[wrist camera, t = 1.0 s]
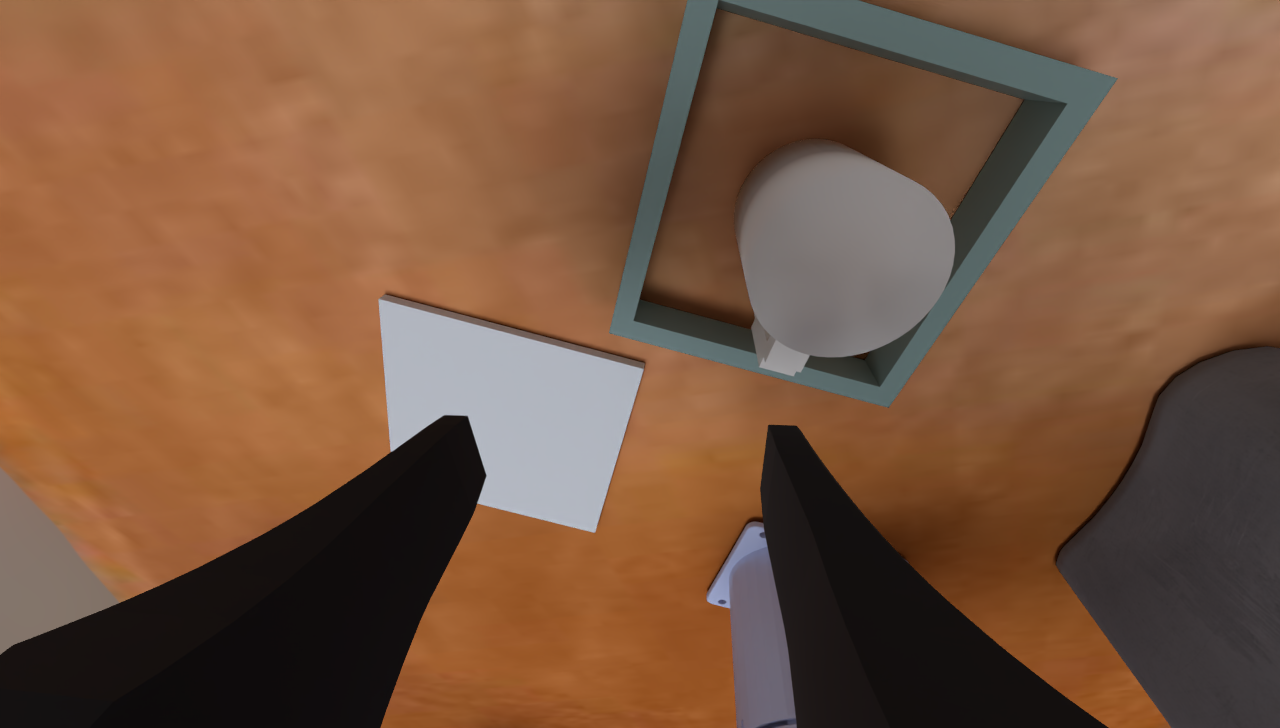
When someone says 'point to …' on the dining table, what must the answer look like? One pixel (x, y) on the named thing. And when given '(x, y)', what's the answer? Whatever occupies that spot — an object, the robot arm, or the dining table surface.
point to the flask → (1196, 548)
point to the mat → (512, 406)
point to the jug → (836, 253)
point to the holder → (980, 225)
